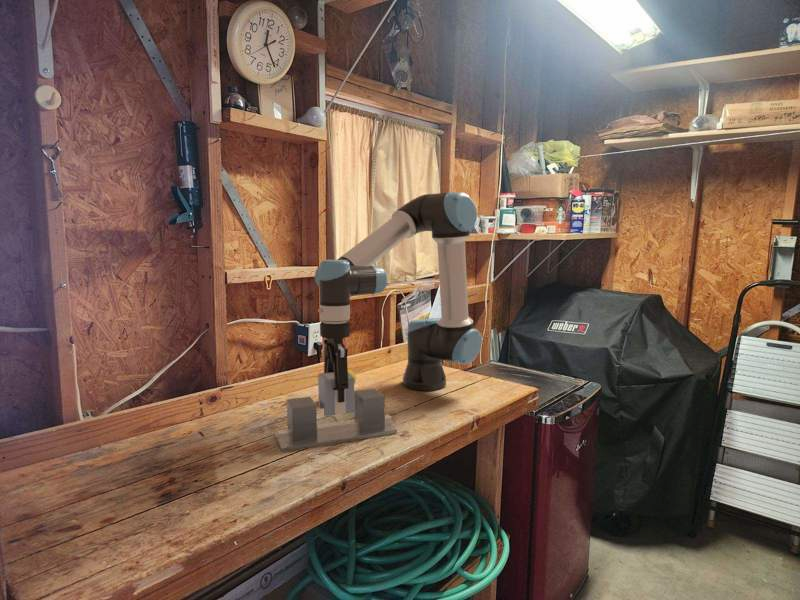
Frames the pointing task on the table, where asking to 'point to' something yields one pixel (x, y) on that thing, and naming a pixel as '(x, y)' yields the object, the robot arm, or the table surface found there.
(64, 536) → the table surface
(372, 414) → the grey block holder
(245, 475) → the table surface
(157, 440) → the table surface
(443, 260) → the robot arm
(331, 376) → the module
